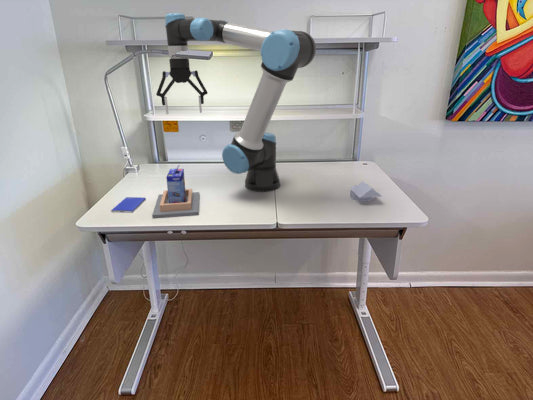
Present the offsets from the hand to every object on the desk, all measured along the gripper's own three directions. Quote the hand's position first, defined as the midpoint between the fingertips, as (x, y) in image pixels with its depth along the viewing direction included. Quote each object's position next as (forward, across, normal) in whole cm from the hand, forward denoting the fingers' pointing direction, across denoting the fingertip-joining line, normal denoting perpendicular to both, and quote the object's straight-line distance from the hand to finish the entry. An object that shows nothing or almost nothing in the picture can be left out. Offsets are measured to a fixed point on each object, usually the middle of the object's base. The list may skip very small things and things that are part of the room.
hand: (184, 112), depth 150 cm
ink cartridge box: (+30, +5, +25) cm, 39 cm away
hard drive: (+31, +23, +21) cm, 45 cm away
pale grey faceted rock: (+31, -66, +35) cm, 81 cm away
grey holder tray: (+31, +5, +25) cm, 40 cm away
